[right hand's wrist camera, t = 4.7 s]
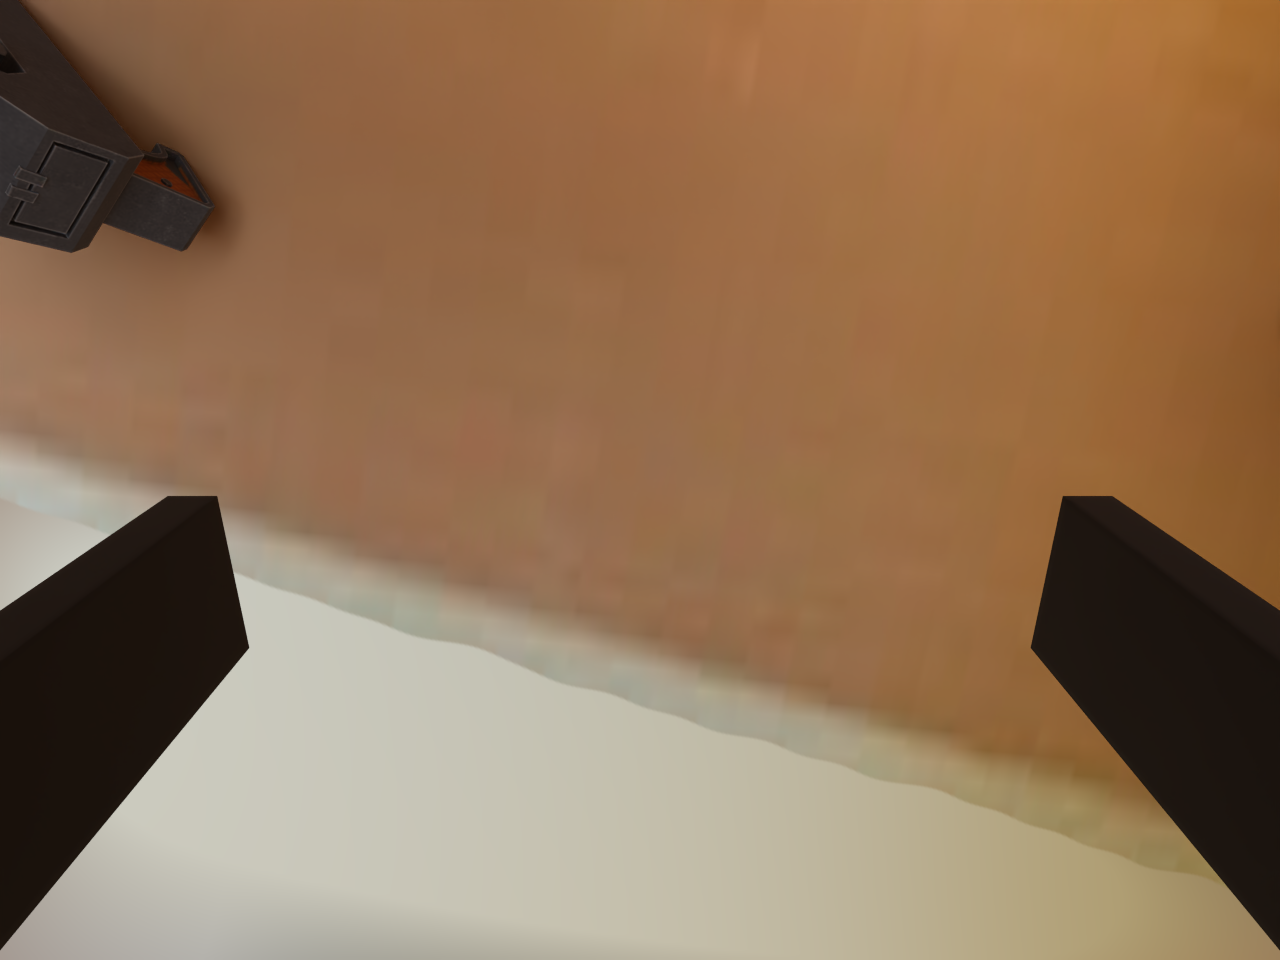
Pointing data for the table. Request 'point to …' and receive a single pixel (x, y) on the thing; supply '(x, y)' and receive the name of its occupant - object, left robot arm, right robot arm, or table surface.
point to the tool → (79, 156)
